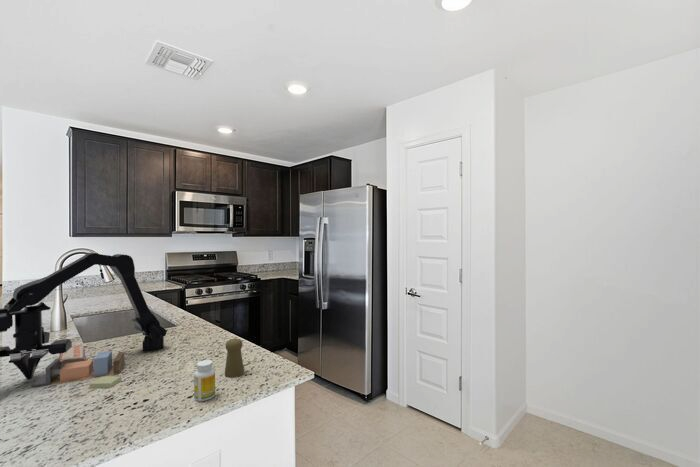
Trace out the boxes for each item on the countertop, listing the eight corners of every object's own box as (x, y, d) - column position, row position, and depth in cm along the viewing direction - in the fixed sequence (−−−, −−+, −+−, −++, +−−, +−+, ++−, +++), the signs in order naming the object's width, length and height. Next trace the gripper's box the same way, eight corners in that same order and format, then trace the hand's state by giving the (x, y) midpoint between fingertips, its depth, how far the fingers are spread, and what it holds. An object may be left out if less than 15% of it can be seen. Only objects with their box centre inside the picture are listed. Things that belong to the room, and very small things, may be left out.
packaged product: (53, 348, 118) (89, 341, 124) (54, 361, 118) (89, 354, 124) (49, 363, 104) (89, 355, 110) (49, 378, 104) (89, 369, 110)
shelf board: (124, 367, 111) (124, 351, 111) (119, 377, 103) (118, 360, 103) (42, 380, 102) (42, 362, 102) (29, 392, 94) (29, 373, 94)
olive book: (121, 385, 99) (121, 376, 99) (110, 392, 94) (110, 383, 94) (101, 385, 98) (101, 376, 98) (89, 393, 94) (89, 383, 94)
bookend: (60, 373, 103) (60, 358, 103) (50, 384, 96) (49, 367, 96) (44, 376, 102) (43, 360, 102) (32, 387, 95) (32, 370, 94)
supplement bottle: (190, 401, 88) (189, 366, 88) (201, 391, 94) (200, 358, 94) (208, 402, 88) (208, 367, 88) (219, 392, 93) (218, 359, 93)
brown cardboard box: (93, 370, 106) (93, 359, 106) (88, 376, 101) (88, 365, 101) (66, 374, 103) (65, 363, 103) (59, 381, 98) (59, 370, 98)
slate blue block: (112, 367, 108) (111, 350, 108) (107, 374, 103) (107, 357, 103) (99, 369, 107) (99, 352, 107) (94, 376, 101) (93, 358, 101)
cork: (248, 370, 107) (247, 337, 107) (236, 378, 102) (235, 343, 101) (233, 368, 109) (232, 335, 109) (220, 376, 104) (219, 341, 103)
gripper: (77, 316, 108) (78, 363, 109) (1, 324, 100) (2, 374, 101) (64, 325, 98) (65, 376, 99) (-21, 334, 90) (-20, 390, 91)
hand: (29, 378), depth 97 cm, fingers closed
